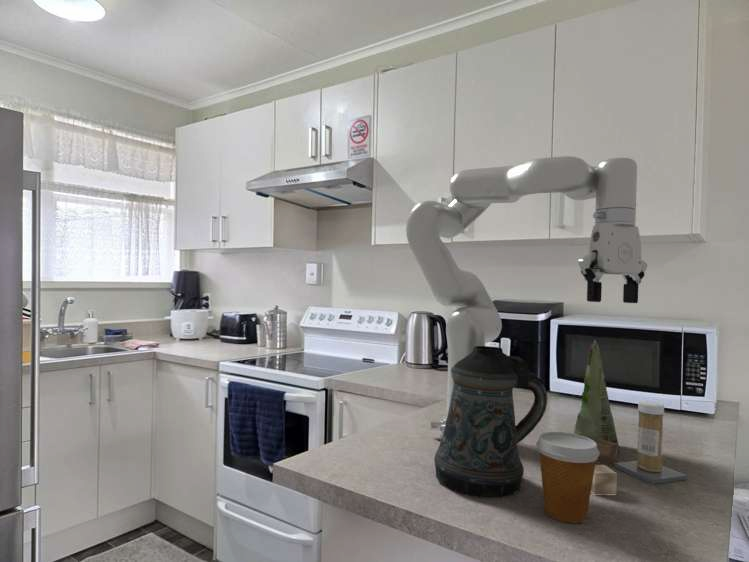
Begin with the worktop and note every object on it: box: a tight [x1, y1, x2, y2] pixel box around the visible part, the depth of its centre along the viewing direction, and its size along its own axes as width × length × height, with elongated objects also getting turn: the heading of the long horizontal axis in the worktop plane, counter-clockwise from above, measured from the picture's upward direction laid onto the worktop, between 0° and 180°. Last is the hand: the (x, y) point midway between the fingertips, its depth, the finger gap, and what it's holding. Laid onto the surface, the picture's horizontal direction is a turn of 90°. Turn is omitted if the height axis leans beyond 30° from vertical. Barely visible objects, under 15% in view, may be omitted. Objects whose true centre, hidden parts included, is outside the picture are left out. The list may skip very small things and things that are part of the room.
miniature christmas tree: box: [573, 339, 620, 453], centre depth 113 cm, size 11×12×25 cm
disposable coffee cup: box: [535, 431, 600, 524], centre depth 78 cm, size 10×10×12 cm
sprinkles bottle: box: [636, 400, 665, 473], centre depth 97 cm, size 5×5×14 cm
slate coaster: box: [614, 460, 688, 485], centre depth 97 cm, size 9×9×1 cm
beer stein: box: [433, 345, 548, 499], centre depth 91 cm, size 16×19×25 cm
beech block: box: [591, 464, 618, 496], centre depth 88 cm, size 4×4×4 cm
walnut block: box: [594, 439, 618, 467], centre depth 103 cm, size 4×4×4 cm
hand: (612, 302), depth 99 cm, fingers open, 9 cm apart
